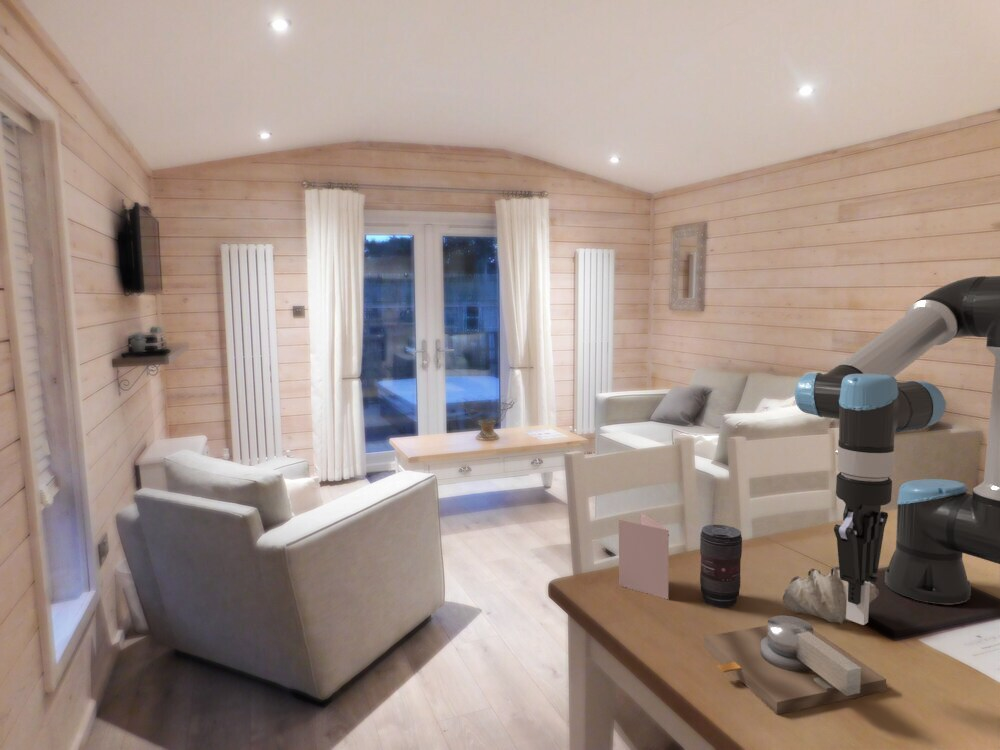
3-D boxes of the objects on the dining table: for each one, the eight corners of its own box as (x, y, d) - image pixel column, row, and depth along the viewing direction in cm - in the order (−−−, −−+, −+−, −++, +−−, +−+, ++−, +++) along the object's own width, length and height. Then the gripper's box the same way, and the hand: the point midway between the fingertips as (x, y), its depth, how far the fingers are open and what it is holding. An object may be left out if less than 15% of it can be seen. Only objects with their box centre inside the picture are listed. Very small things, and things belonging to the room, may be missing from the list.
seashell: (861, 641, 119) (863, 589, 118) (779, 614, 130) (780, 565, 129) (880, 621, 126) (882, 571, 125) (801, 596, 137) (802, 550, 136)
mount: (799, 629, 124) (799, 612, 124) (885, 690, 105) (886, 670, 104) (688, 649, 118) (688, 631, 118) (758, 718, 99) (759, 696, 99)
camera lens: (743, 610, 132) (745, 538, 130) (701, 607, 134) (702, 536, 132) (737, 592, 140) (739, 524, 138) (698, 590, 141) (698, 522, 140)
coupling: (758, 639, 114) (758, 617, 113) (793, 633, 116) (793, 611, 115) (833, 698, 97) (834, 673, 97) (872, 690, 99) (873, 665, 98)
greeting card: (672, 599, 138) (672, 529, 136) (640, 604, 136) (639, 534, 134) (645, 577, 149) (644, 512, 147) (614, 582, 147) (614, 516, 145)
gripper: (858, 463, 109) (852, 600, 111) (818, 477, 101) (812, 624, 104) (908, 472, 103) (900, 616, 105) (870, 488, 95) (862, 643, 98)
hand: (856, 620), depth 105 cm, fingers closed
